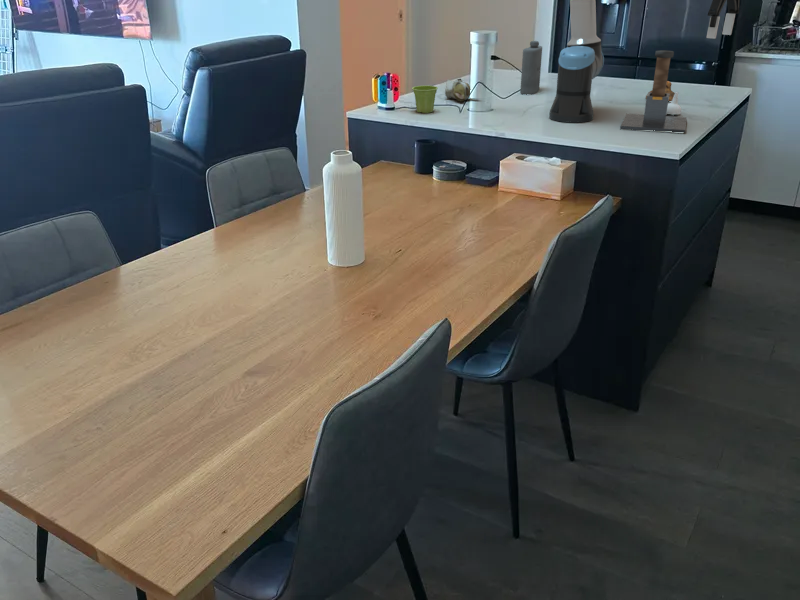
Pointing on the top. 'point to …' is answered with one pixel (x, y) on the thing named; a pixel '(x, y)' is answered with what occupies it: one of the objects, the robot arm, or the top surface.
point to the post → (661, 72)
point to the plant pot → (425, 98)
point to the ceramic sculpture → (457, 90)
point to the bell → (668, 91)
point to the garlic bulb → (674, 106)
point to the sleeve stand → (654, 117)
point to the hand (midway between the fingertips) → (718, 36)
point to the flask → (531, 68)
